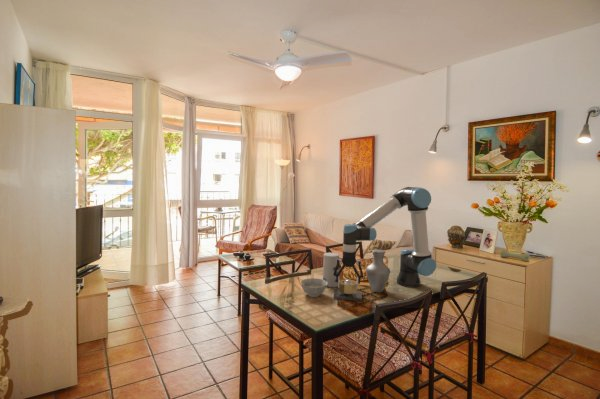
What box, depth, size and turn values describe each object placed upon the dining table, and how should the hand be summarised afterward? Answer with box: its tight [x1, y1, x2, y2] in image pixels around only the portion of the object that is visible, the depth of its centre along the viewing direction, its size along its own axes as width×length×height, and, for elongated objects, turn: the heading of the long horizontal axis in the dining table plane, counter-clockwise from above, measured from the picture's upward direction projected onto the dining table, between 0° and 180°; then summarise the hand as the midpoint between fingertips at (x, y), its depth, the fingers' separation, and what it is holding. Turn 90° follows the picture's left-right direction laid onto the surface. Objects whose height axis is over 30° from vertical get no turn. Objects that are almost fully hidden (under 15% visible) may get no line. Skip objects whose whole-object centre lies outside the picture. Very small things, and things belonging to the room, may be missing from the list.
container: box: [322, 252, 340, 288], centre depth 211 cm, size 10×10×20 cm
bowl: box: [299, 277, 328, 298], centre depth 193 cm, size 16×16×8 cm
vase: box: [365, 248, 391, 293], centre depth 202 cm, size 14×14×25 cm
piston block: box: [333, 278, 363, 302], centre depth 193 cm, size 16×12×10 cm
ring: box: [338, 278, 358, 294], centre depth 193 cm, size 10×10×5 cm
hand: (347, 288), depth 193 cm, fingers closed on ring, 10 cm apart
